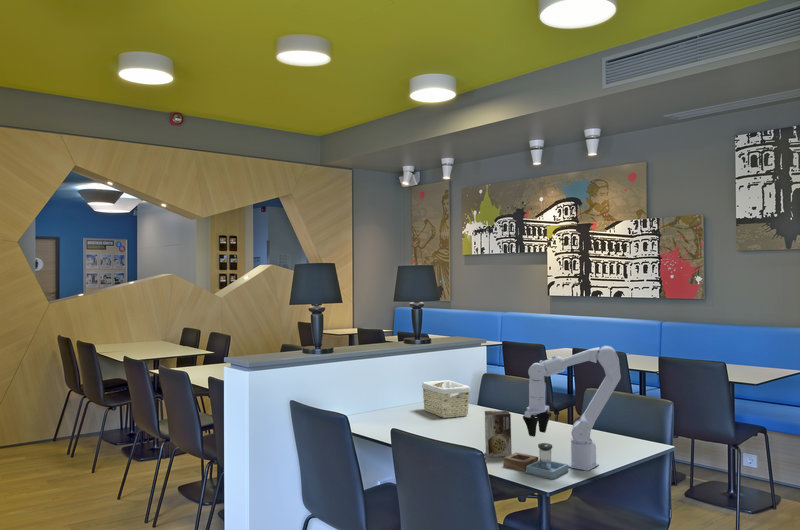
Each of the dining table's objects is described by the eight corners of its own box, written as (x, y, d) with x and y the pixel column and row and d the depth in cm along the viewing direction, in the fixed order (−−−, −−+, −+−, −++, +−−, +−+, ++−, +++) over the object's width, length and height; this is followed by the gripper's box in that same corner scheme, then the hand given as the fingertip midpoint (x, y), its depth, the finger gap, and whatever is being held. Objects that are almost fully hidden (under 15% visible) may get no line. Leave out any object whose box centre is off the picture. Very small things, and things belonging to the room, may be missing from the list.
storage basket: (421, 410, 320) (420, 381, 320) (449, 407, 326) (448, 379, 326) (442, 419, 298) (441, 388, 298) (471, 416, 304) (471, 386, 304)
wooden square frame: (516, 460, 230) (516, 452, 230) (538, 465, 224) (538, 456, 224) (503, 466, 223) (503, 457, 223) (525, 471, 217) (525, 462, 217)
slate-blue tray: (542, 466, 223) (542, 459, 223) (568, 471, 216) (568, 464, 216) (526, 473, 214) (526, 466, 215) (552, 479, 208) (552, 471, 208)
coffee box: (508, 452, 241) (507, 410, 242) (511, 456, 235) (511, 413, 235) (484, 452, 241) (484, 410, 241) (487, 457, 234) (487, 414, 235)
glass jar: (542, 467, 219) (542, 442, 219) (555, 470, 216) (554, 444, 216) (535, 470, 216) (535, 445, 216) (548, 473, 212) (548, 447, 212)
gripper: (537, 392, 235) (537, 428, 235) (517, 398, 224) (517, 436, 224) (554, 394, 230) (554, 431, 230) (534, 400, 220) (534, 439, 219)
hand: (537, 434), depth 227 cm, fingers open, 7 cm apart
